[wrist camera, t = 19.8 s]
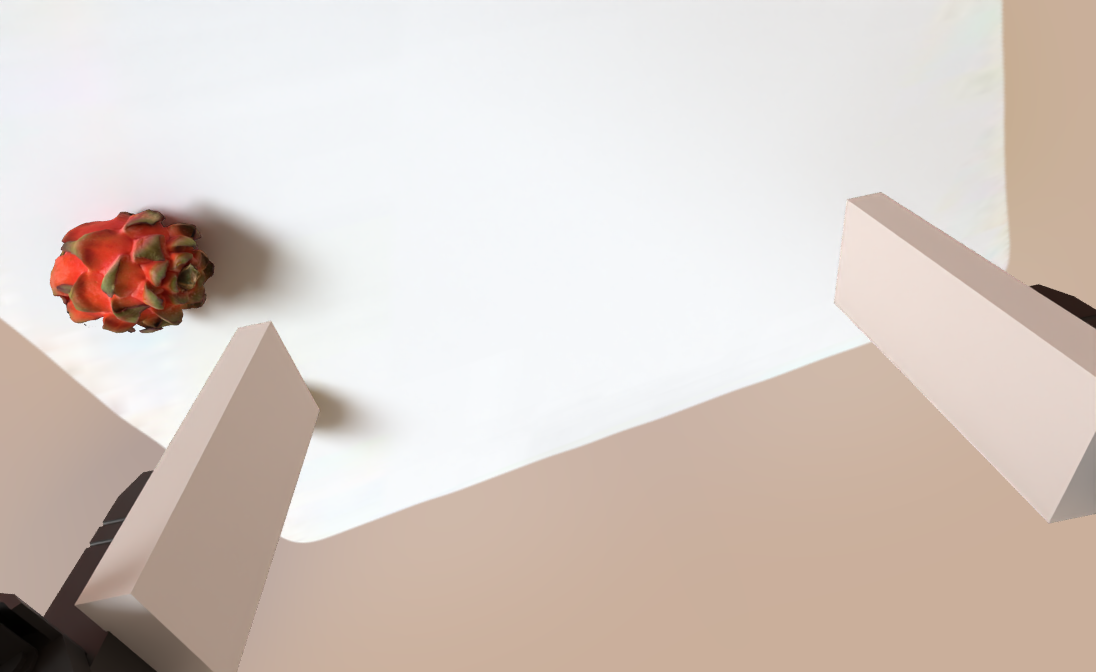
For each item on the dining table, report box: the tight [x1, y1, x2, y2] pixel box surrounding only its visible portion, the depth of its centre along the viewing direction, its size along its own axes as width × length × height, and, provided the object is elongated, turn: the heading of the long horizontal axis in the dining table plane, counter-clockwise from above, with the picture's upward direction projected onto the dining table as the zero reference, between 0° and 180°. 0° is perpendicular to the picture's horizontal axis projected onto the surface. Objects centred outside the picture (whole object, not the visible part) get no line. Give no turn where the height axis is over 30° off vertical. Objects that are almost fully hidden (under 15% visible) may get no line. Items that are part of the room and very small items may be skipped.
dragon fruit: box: [50, 209, 214, 333], centre depth 42 cm, size 8×8×12 cm
